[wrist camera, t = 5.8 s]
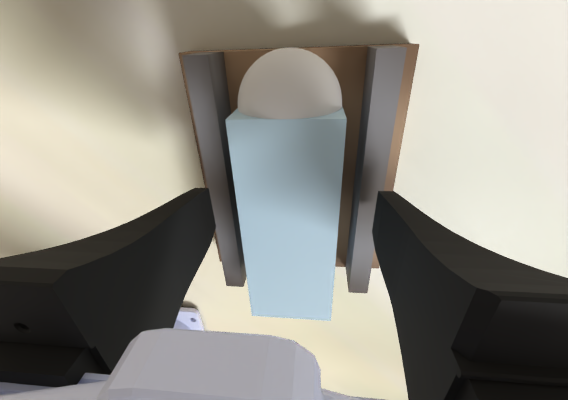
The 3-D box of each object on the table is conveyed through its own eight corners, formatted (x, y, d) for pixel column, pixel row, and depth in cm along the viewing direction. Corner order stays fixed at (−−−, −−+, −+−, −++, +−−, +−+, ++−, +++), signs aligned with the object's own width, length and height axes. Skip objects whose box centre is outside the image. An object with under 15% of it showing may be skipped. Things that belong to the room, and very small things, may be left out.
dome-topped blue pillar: (328, 264, 18) (330, 320, 14) (264, 261, 18) (252, 315, 15) (341, 43, 11) (352, 48, 8) (245, 47, 12) (216, 52, 8)
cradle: (375, 254, 18) (385, 294, 16) (225, 249, 19) (210, 284, 17) (410, 43, 12) (437, 46, 10) (189, 51, 13) (156, 56, 11)
